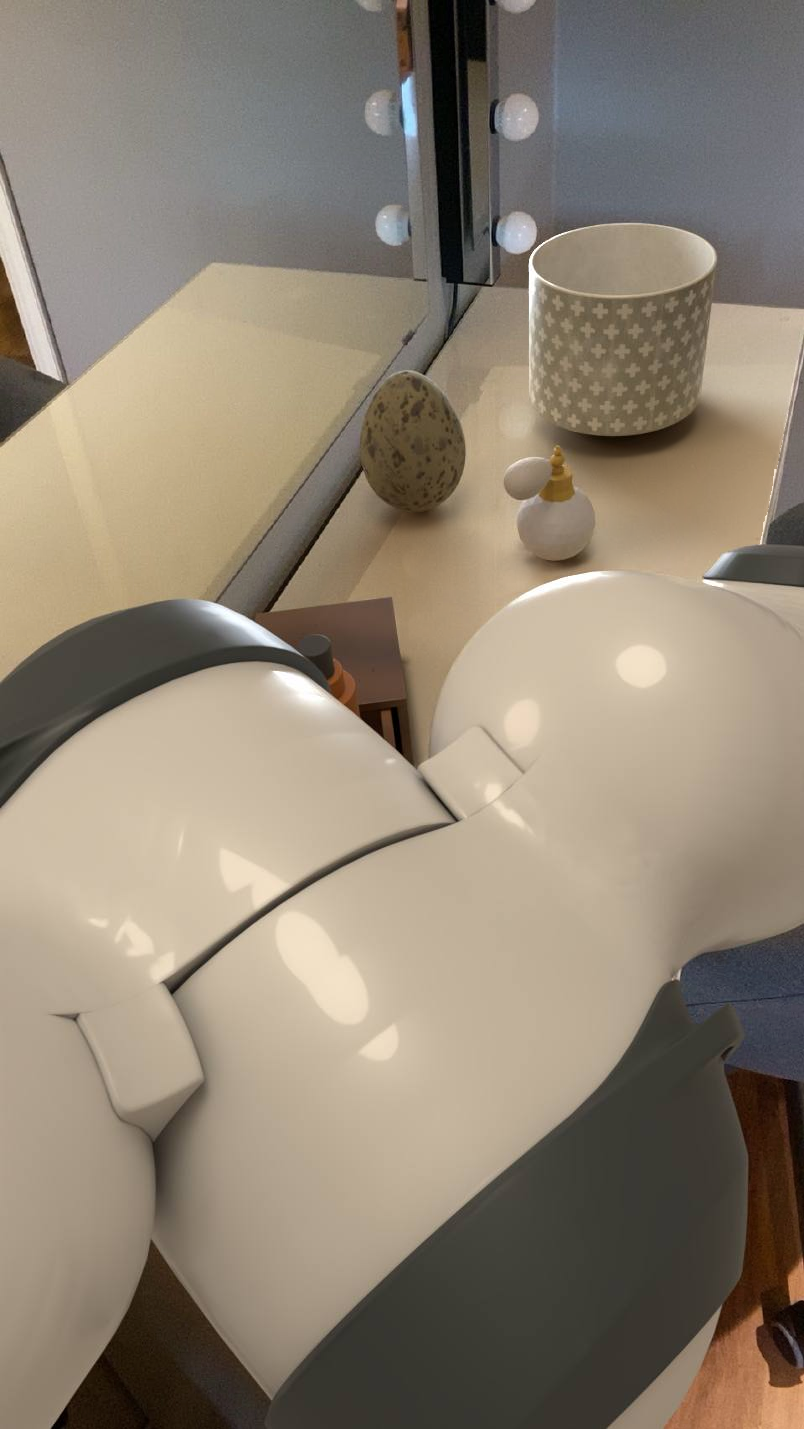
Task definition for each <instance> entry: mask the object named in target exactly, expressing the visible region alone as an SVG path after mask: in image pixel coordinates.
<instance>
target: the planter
mask: <svg viewBox="0 0 804 1429" xmlns="http://www.w3.org/2000/svg"><path fill="white" fill-rule="evenodd" d="M717 265H718V254H717V251H716V250H715V247H714V246H713V245H712V244H710V242H709V241H707V240H706V239H705V238H703V237H701V236H700V235H697V234H696V233H693V232H691V231H688V230H685V229H681V228H678V227H673V226H668V225H663V224H654V223H646V222H645V223H644V222H643V223H642V222H617V223H616V222H615V223H604V224H596V225H591V226H585V227H579V228H576V229H573V230H570V231H569V230H568V231H566V232H563V233H561V234H558V235H555V236H553V237H551V238H550V239H547V240H545V241H544V242H542V244H540V245H539V246H538V247H537V248H535V249H534V251H533V252H532V254H531V255H530V258H529V263H528V272H529V275H528V290H529V291H528V298H529V299H528V302H529V303H528V314H529V315H528V323H529V324H528V345H529V346H528V348H529V349H528V360H529V361H528V365H529V366H528V367H529V368H528V370H529V372H528V374H529V375H528V382H529V383H528V386H529V387H528V390H529V391H528V393H529V394H528V395H529V401H530V404H531V406H532V408H533V409H534V411H535V412H536V413H537V414H538V415H539V416H540V417H541V418H543V419H544V420H546V421H547V422H548V423H551V424H553V425H554V426H557V427H559V428H562V429H564V430H568V431H571V432H575V433H578V434H584V435H591V436H598V437H599V436H600V437H601V436H603V437H623V436H624V437H625V436H627V437H628V436H635V435H642V434H648V433H651V432H656V431H659V430H662V429H663V430H664V429H665V428H669V427H670V426H673V425H675V424H677V423H678V422H681V421H682V420H684V419H685V418H687V417H688V416H689V415H691V413H692V412H694V410H696V407H697V406H698V404H699V402H700V399H701V395H702V394H701V393H702V386H703V378H704V369H705V362H706V353H707V345H708V337H709V330H710V329H709V328H710V320H711V312H712V305H713V304H712V303H713V296H714V289H715V281H716V272H717Z"/></svg>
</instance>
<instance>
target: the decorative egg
mask: <svg viewBox="0 0 804 1429" xmlns="http://www.w3.org/2000/svg"><path fill="white" fill-rule="evenodd" d="M460 420H461V419H460V418H459V415H458V413H457V411H456V408H455V407H454V405H453V404H452V402H451V401H450V399H449V397H448V396H447V395H446V394H445V393H444V391H443V390H442V389H441V388H440V386H438V385H437V384H436V383H435V382H434V381H433V380H431V379H430V378H429V377H427V376H425V375H424V374H422V373H420V372H418V371H415V370H410V369H405V370H399V371H396V372H394V373H392V374H391V375H389V376H388V377H387V378H385V380H383V381H382V382H381V384H380V385H379V386H378V388H377V389H376V390H375V392H374V393H373V396H372V397H371V398H370V401H369V403H368V406H367V408H366V411H365V414H364V417H363V420H362V425H361V429H360V436H359V437H360V438H359V455H360V456H359V457H360V463H361V467H362V470H363V474H364V476H365V479H366V482H367V483H368V485H369V487H370V488H371V489H372V491H373V492H374V494H375V495H376V496H377V497H378V498H379V499H380V500H381V501H382V502H384V503H385V504H387V505H388V506H389V507H392V508H393V509H396V510H397V511H398V510H399V511H402V512H405V513H422V512H426V511H430V510H433V509H435V508H436V507H438V506H440V505H441V504H442V503H444V502H445V501H446V500H447V499H448V498H449V497H450V496H451V495H452V494H453V493H454V491H455V490H456V489H457V487H458V485H459V483H460V481H461V479H462V476H463V474H464V470H465V465H466V456H467V450H466V449H467V448H466V438H465V433H464V429H463V426H462V423H461V421H460Z"/></svg>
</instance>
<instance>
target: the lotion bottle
mask: <svg viewBox="0 0 804 1429" xmlns="http://www.w3.org/2000/svg"><path fill="white" fill-rule="evenodd" d="M297 649H298V652H299V653H300V654H302V655H303V656H304V657H305V658H307V659H308V660H309V661H311V662H312V663H313V664H314V665H315V666H316V667H317V668H318V669H319V670H320V671H321V672H322V673H323V675H324V676H325V678H326V680H327V682H328V684H329V686H330V689H331V693H332V696H333V697H334V698H336V699H337V700H338V701H339V702H341V703H342V704H343V705H344V706H346V707H347V708H348V709H349V710H351V711H352V712H353V713H354V714H356V715H357V716H358V717H359V718H360V712H359V706H358V699H357V693H356V687H355V682H354V679H353V678H352V676H351V675H350V674H349V673H347V672H346V671H344V670H342V666H341V665H340V663H339V662H338V661H337V660H335V659H333V656H332V650H331V645H330V641H329V639H328V638H327V637H325V636H323V635H310V636H307V637H305V638H303V639H302V640H301V641H300V642H299V643H298V646H297ZM360 719H361V718H360Z"/></svg>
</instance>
